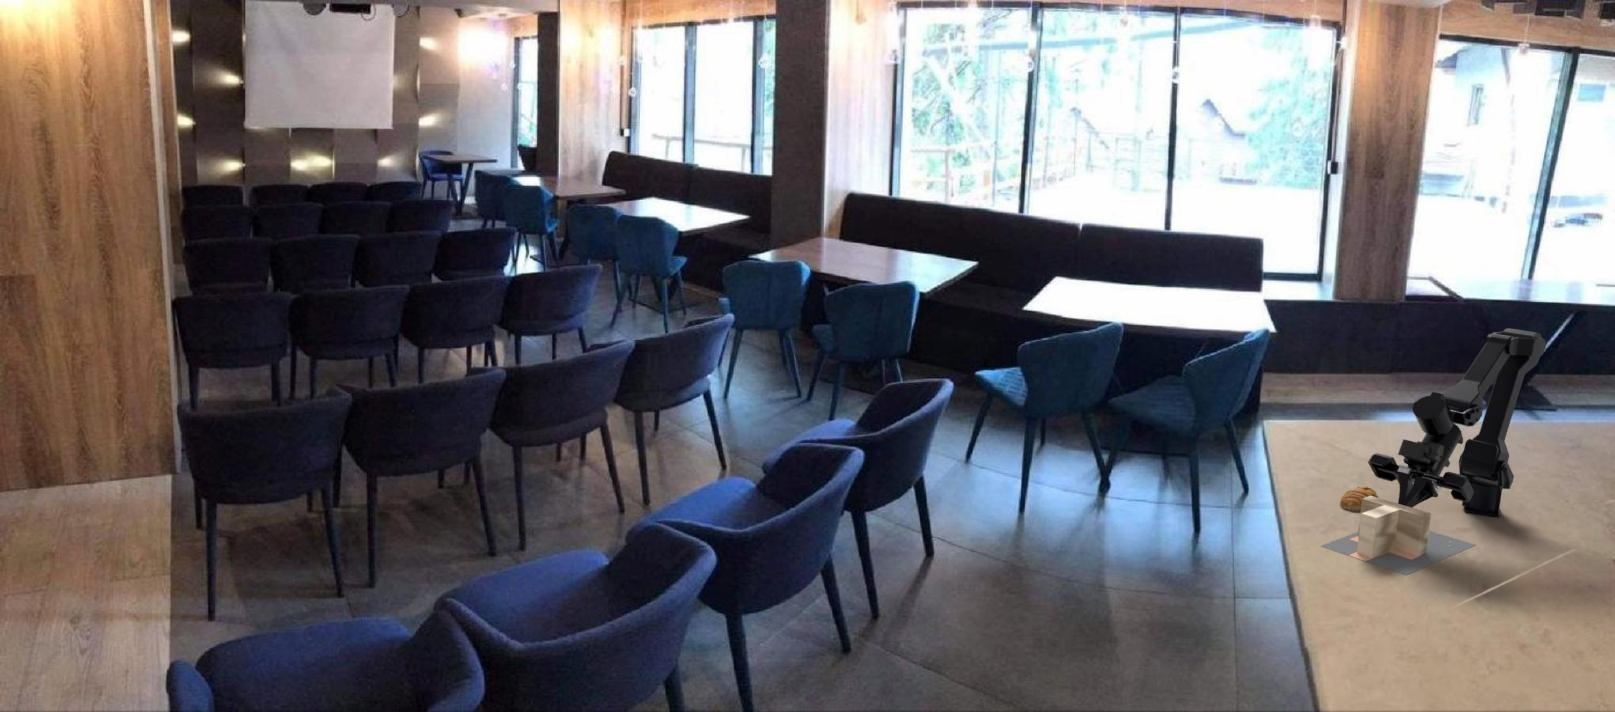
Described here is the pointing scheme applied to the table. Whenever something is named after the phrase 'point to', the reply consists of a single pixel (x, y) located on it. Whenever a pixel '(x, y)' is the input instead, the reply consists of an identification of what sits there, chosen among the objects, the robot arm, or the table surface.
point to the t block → (1391, 528)
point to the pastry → (1356, 498)
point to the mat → (1401, 559)
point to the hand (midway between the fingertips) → (1399, 511)
